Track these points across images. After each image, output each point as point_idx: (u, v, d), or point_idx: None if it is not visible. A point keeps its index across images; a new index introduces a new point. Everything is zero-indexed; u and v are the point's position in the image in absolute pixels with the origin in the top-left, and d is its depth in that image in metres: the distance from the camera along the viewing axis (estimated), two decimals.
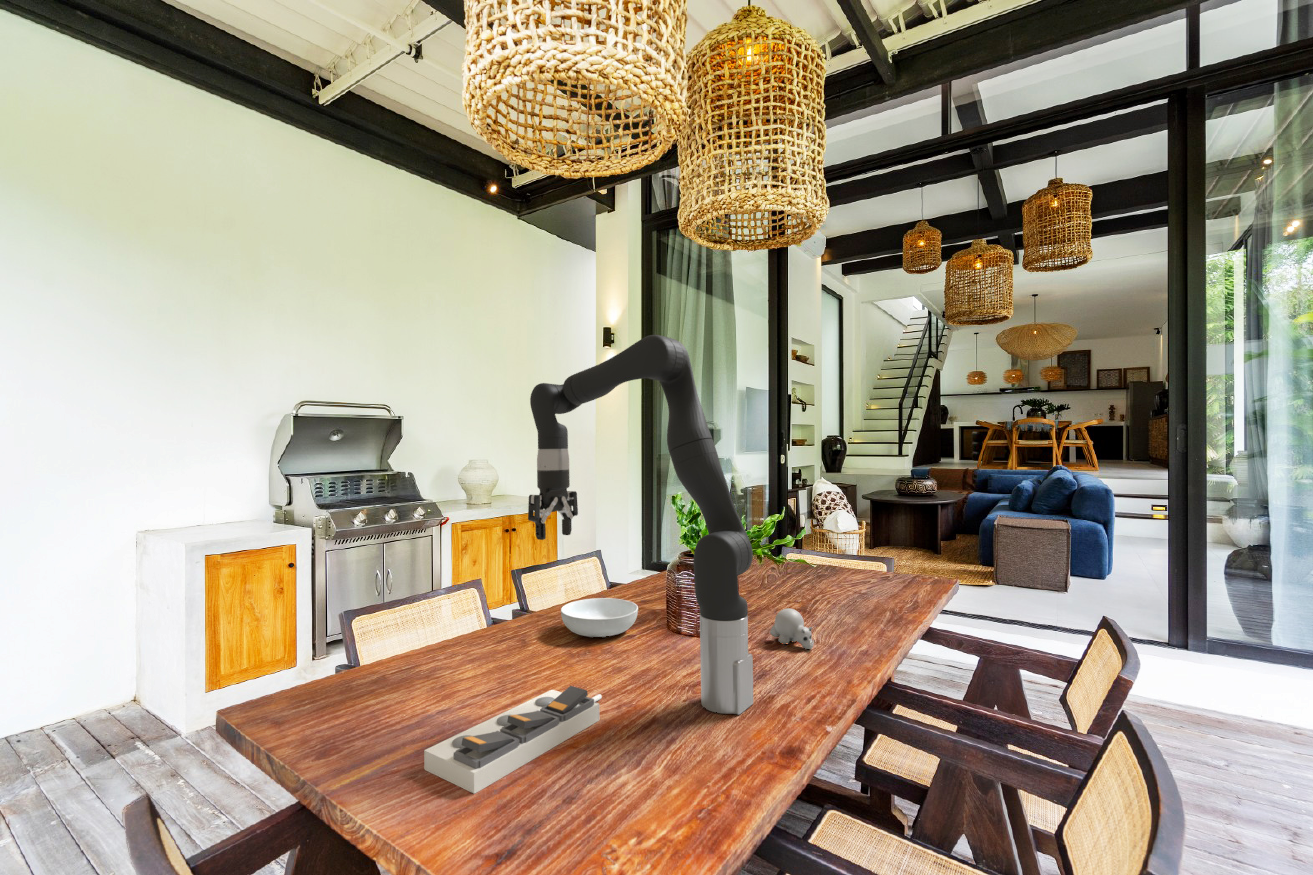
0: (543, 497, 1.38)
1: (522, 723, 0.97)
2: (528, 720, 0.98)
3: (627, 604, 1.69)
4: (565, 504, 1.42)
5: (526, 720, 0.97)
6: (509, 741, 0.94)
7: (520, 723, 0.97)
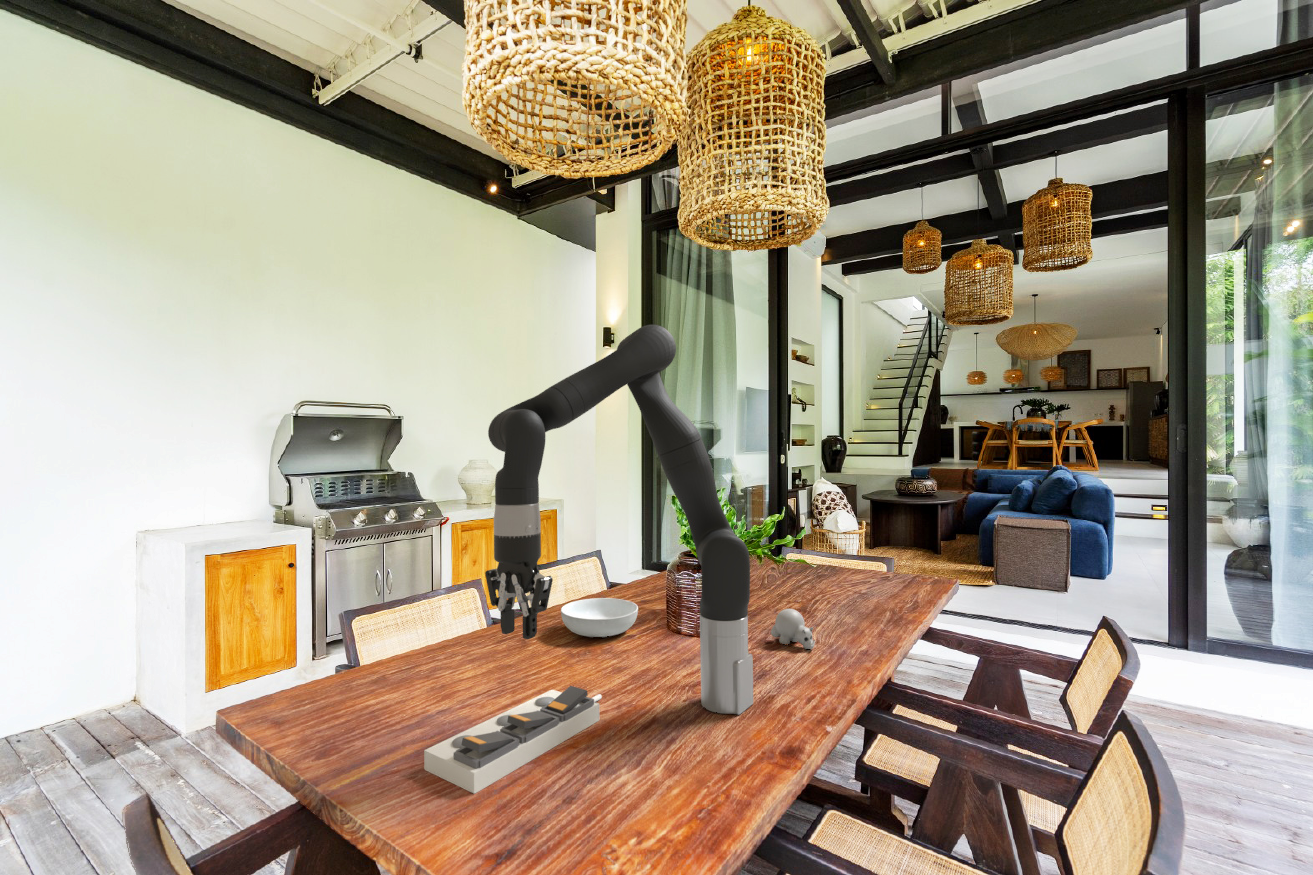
0: (538, 572, 0.97)
1: (522, 723, 0.97)
2: (528, 720, 0.98)
3: (627, 604, 1.69)
4: None
5: (526, 720, 0.97)
6: (509, 741, 0.94)
7: (520, 723, 0.97)
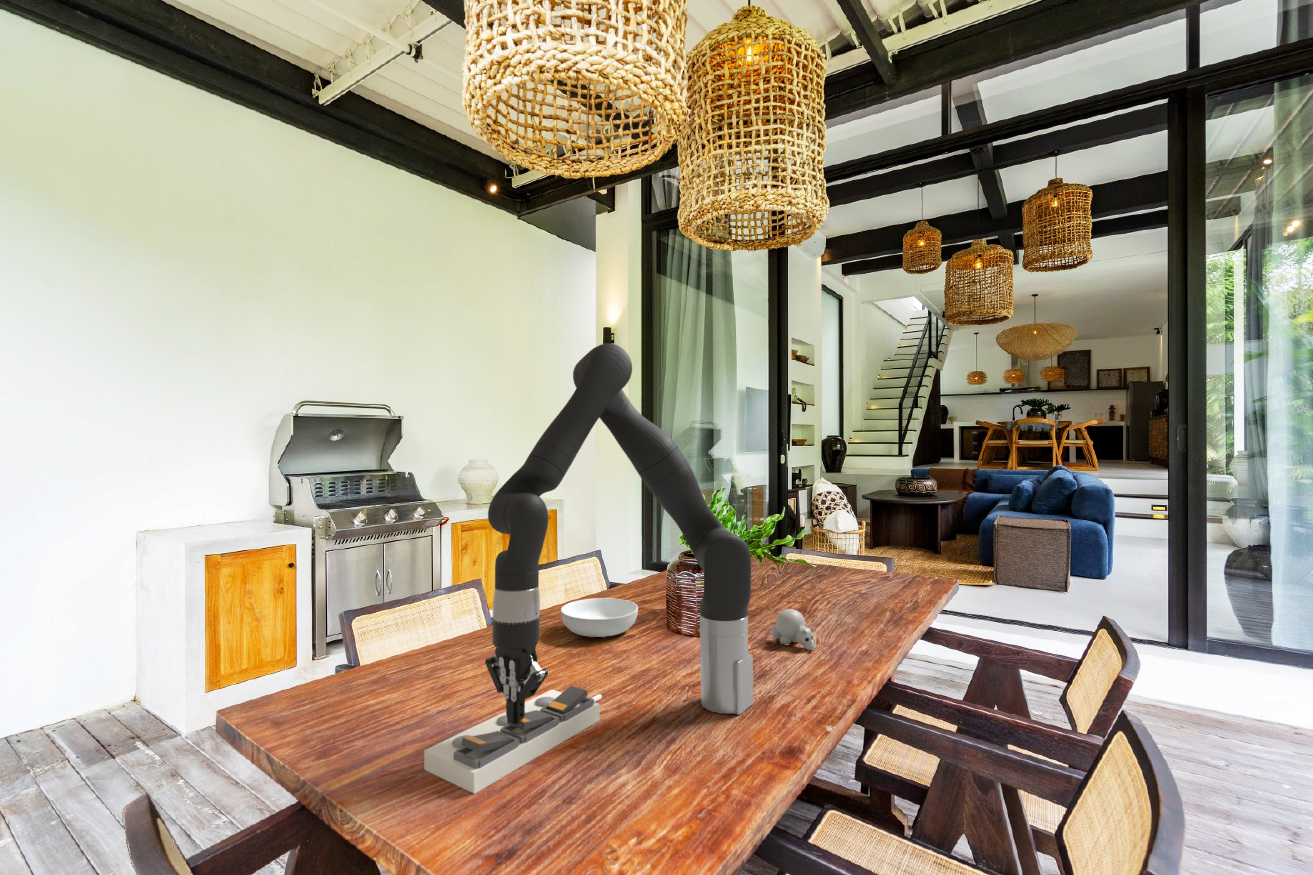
0: (537, 658, 0.96)
1: (522, 724, 0.97)
2: (528, 721, 0.97)
3: (627, 604, 1.69)
4: None
5: (526, 721, 0.97)
6: (509, 741, 0.94)
7: (520, 724, 0.97)
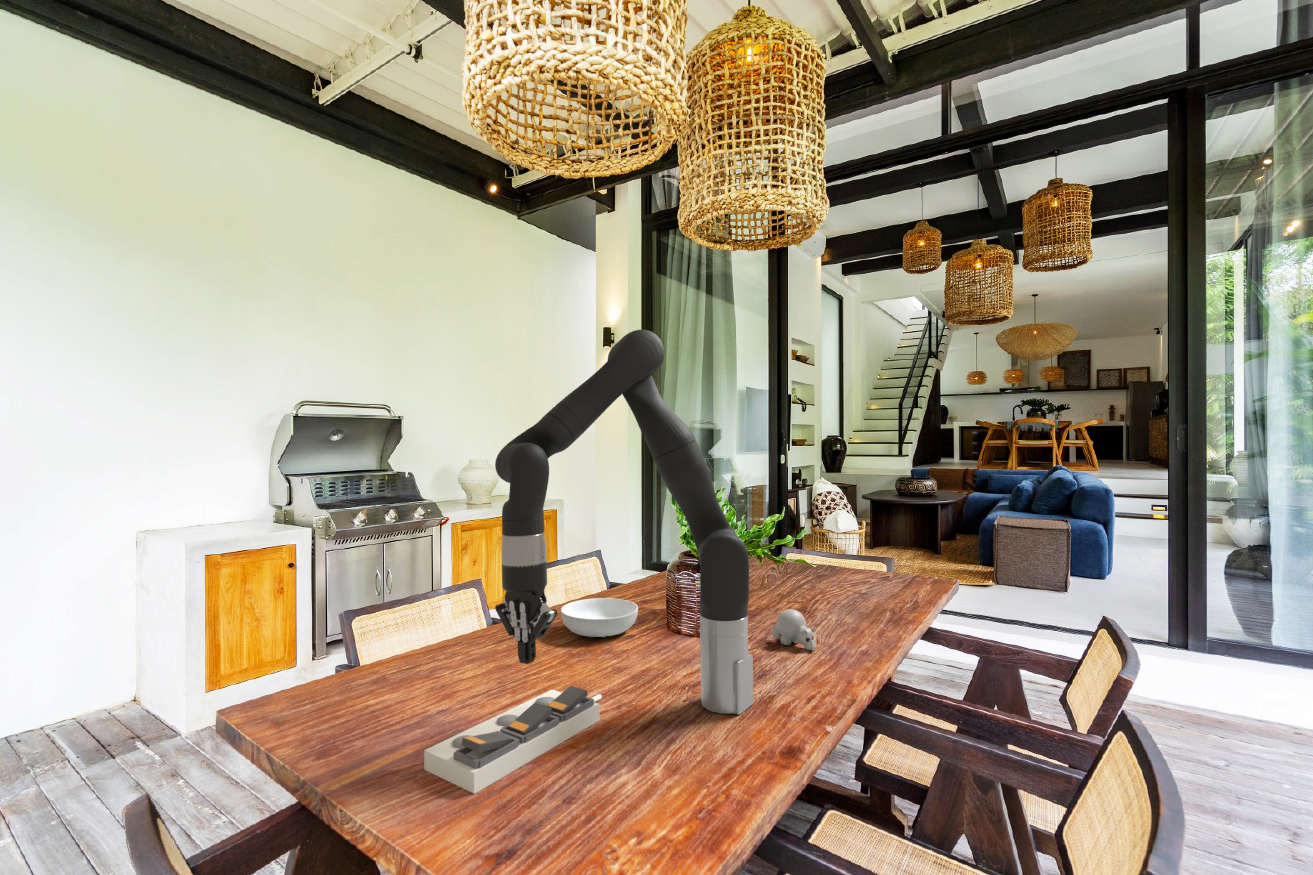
0: (546, 600, 1.01)
1: (522, 733, 0.97)
2: (527, 728, 0.97)
3: (627, 604, 1.69)
4: None
5: (525, 729, 0.97)
6: (509, 741, 0.94)
7: (520, 733, 0.97)
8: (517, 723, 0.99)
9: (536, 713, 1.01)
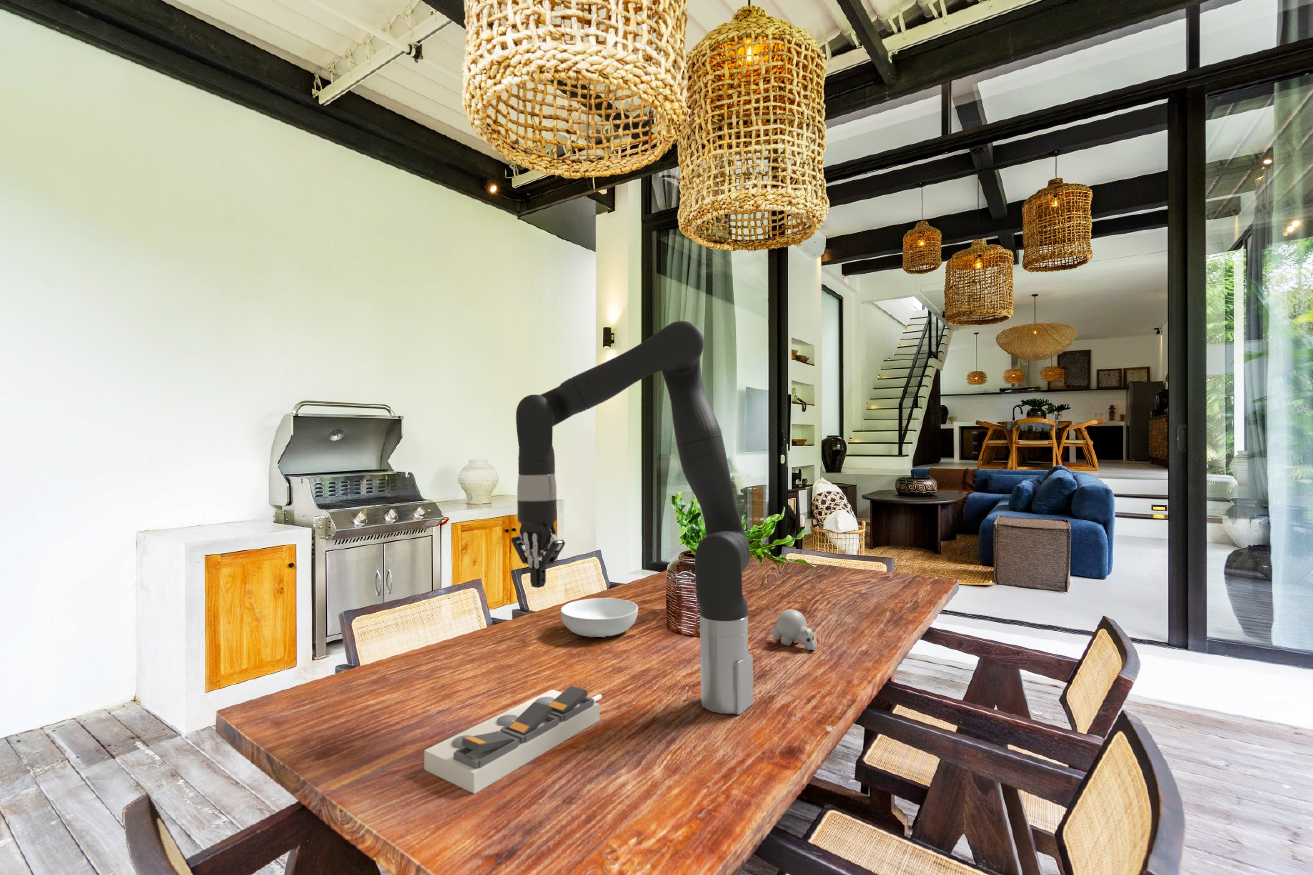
0: (555, 532, 1.15)
1: (522, 734, 0.97)
2: (527, 729, 0.97)
3: (627, 604, 1.69)
4: None
5: (525, 730, 0.97)
6: (509, 741, 0.94)
7: None
8: (517, 724, 0.99)
9: (536, 713, 1.01)
